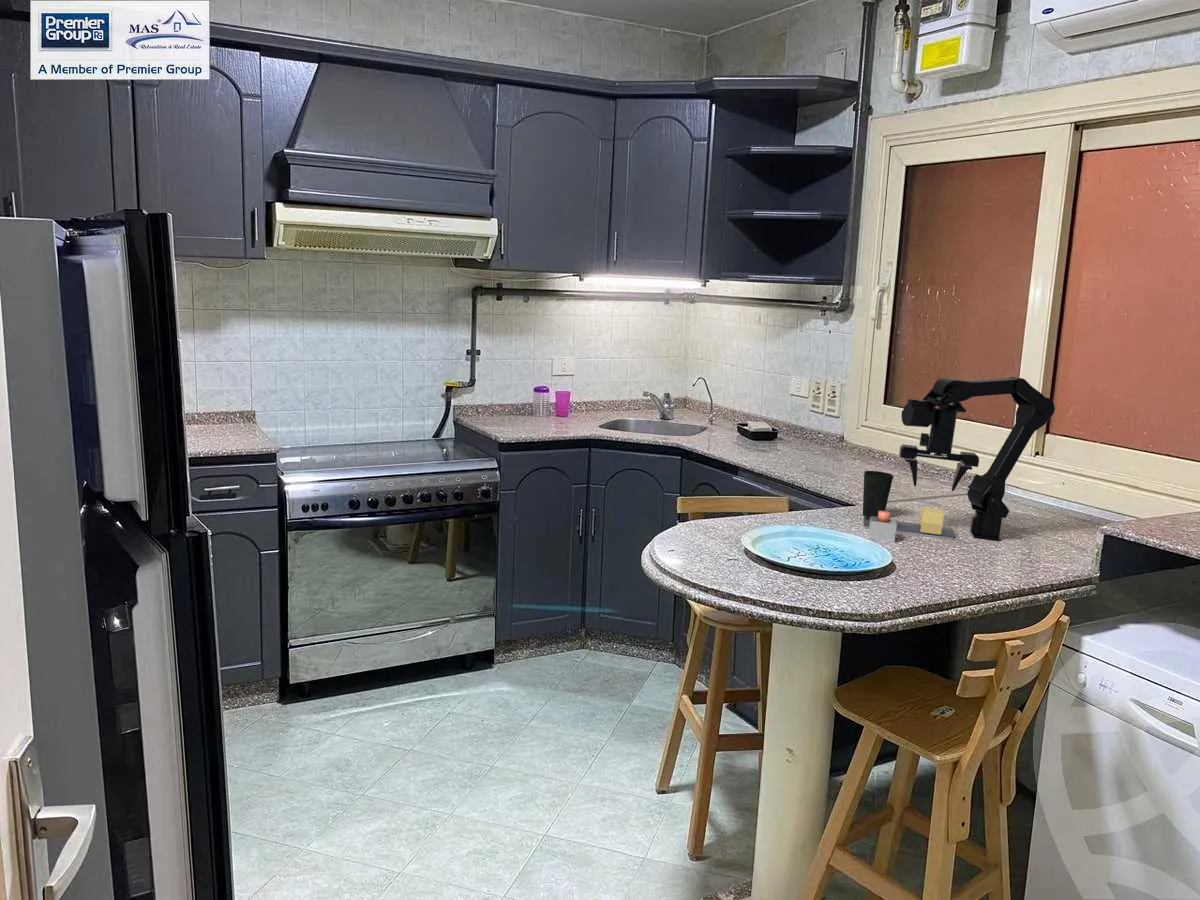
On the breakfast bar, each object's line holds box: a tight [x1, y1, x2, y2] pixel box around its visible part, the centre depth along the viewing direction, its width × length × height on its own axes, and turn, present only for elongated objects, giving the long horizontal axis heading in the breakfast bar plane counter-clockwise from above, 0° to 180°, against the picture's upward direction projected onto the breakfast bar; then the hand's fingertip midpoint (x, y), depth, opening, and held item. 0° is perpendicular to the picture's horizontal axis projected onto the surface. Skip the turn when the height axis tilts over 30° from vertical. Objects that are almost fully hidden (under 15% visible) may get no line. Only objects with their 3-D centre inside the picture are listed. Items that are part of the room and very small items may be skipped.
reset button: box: [878, 510, 891, 521], centre depth 233 cm, size 3×3×2 cm
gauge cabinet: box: [868, 516, 897, 543], centre depth 233 cm, size 6×6×4 cm
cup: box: [862, 470, 894, 518], centre depth 256 cm, size 8×8×12 cm
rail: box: [862, 516, 954, 541], centre depth 243 cm, size 22×6×2 cm, turn 76°
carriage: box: [918, 506, 945, 535], centre depth 241 cm, size 5×5×5 cm
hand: (933, 488), depth 239 cm, fingers open, 9 cm apart
